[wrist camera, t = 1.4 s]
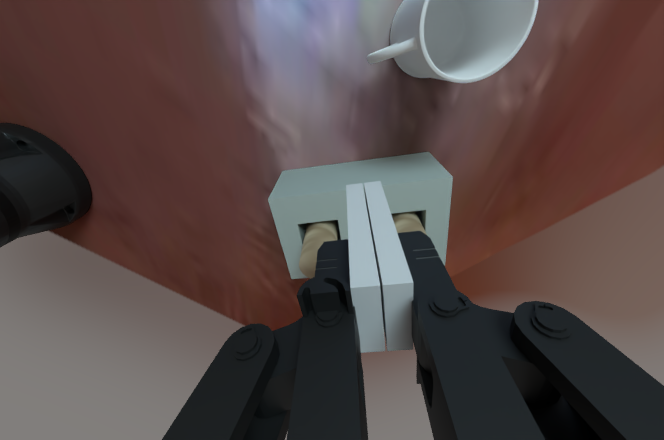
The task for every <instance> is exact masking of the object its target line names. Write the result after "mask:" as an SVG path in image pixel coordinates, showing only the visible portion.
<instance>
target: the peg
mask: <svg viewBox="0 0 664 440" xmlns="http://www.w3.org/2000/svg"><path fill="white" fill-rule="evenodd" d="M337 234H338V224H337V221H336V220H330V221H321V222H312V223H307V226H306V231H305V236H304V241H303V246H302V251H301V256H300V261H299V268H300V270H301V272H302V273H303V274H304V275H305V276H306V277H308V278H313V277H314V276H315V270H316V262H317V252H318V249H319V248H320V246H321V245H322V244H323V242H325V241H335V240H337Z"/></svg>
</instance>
